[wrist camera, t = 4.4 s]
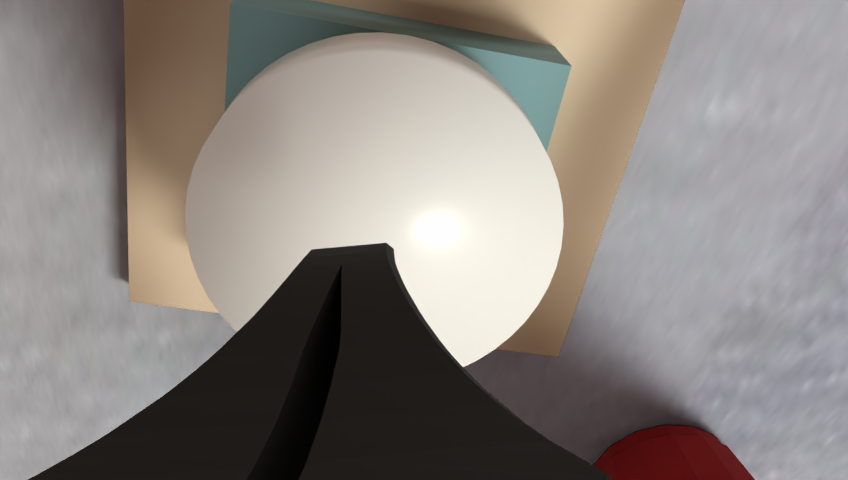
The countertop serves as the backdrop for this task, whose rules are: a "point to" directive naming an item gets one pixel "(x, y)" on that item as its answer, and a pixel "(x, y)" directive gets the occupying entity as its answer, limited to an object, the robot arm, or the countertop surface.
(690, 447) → the plastic cup
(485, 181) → the disc
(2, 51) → the countertop surface
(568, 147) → the dispenser base
